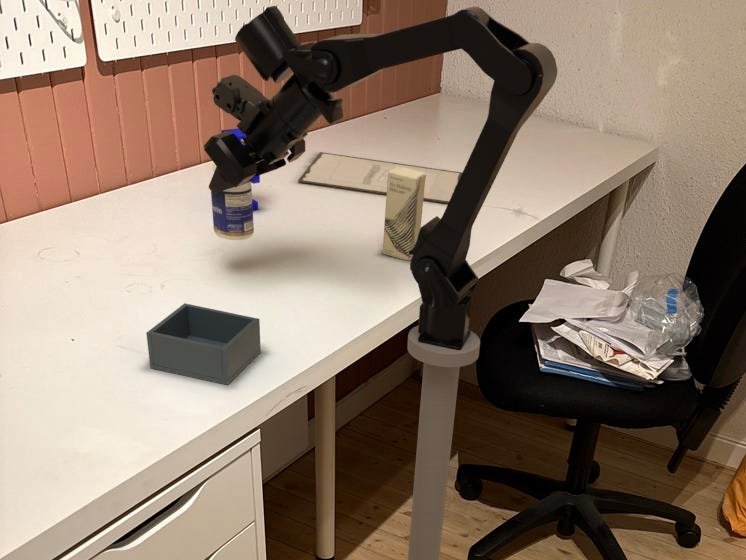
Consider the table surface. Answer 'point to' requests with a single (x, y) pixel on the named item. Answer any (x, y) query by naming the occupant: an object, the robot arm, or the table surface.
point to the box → (403, 211)
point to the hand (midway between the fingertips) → (222, 185)
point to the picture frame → (375, 175)
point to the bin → (204, 343)
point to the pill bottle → (233, 212)
